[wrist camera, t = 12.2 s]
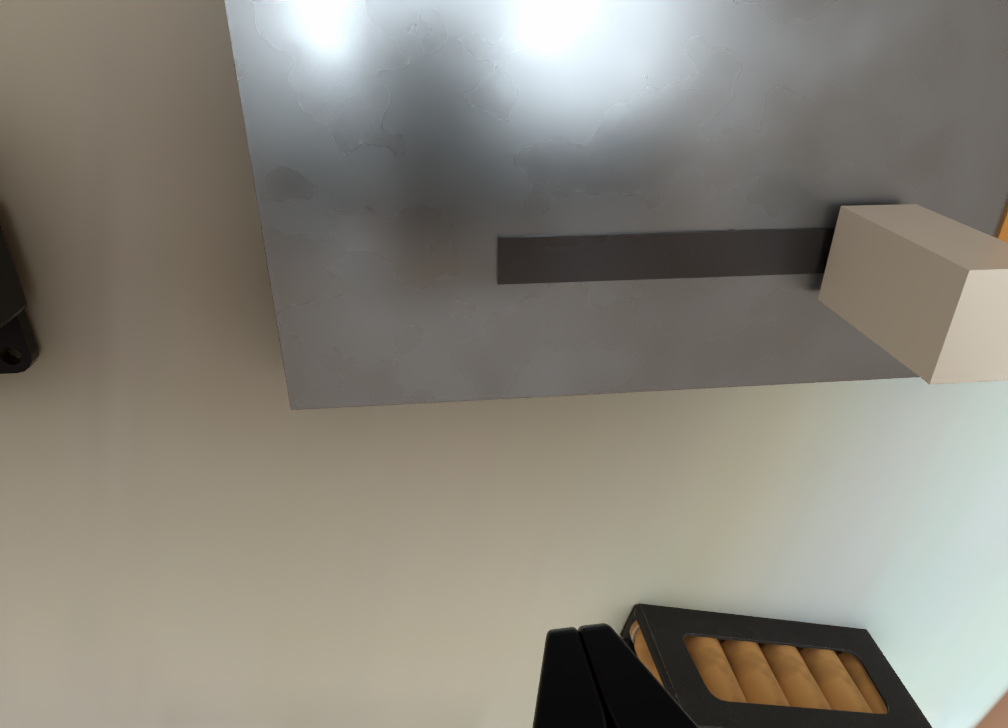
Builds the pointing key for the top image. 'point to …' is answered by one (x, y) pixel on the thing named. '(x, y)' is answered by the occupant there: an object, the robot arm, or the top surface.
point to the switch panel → (598, 183)
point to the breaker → (922, 290)
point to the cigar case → (769, 671)
